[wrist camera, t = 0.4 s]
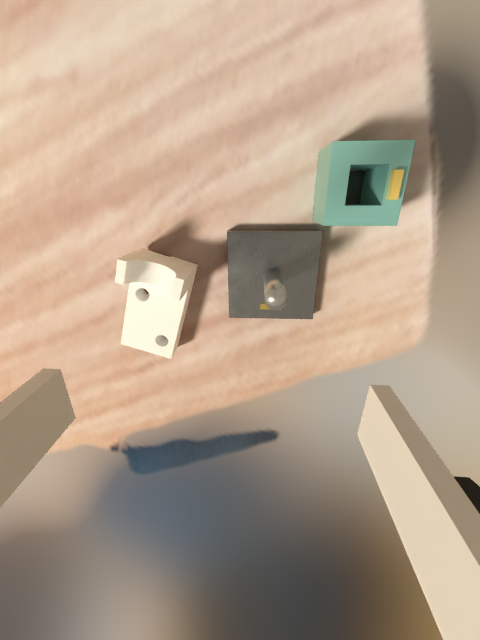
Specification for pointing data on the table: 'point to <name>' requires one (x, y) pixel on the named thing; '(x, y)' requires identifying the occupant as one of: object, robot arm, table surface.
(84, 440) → the table surface
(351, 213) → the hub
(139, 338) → the bracket
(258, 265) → the shaft base
